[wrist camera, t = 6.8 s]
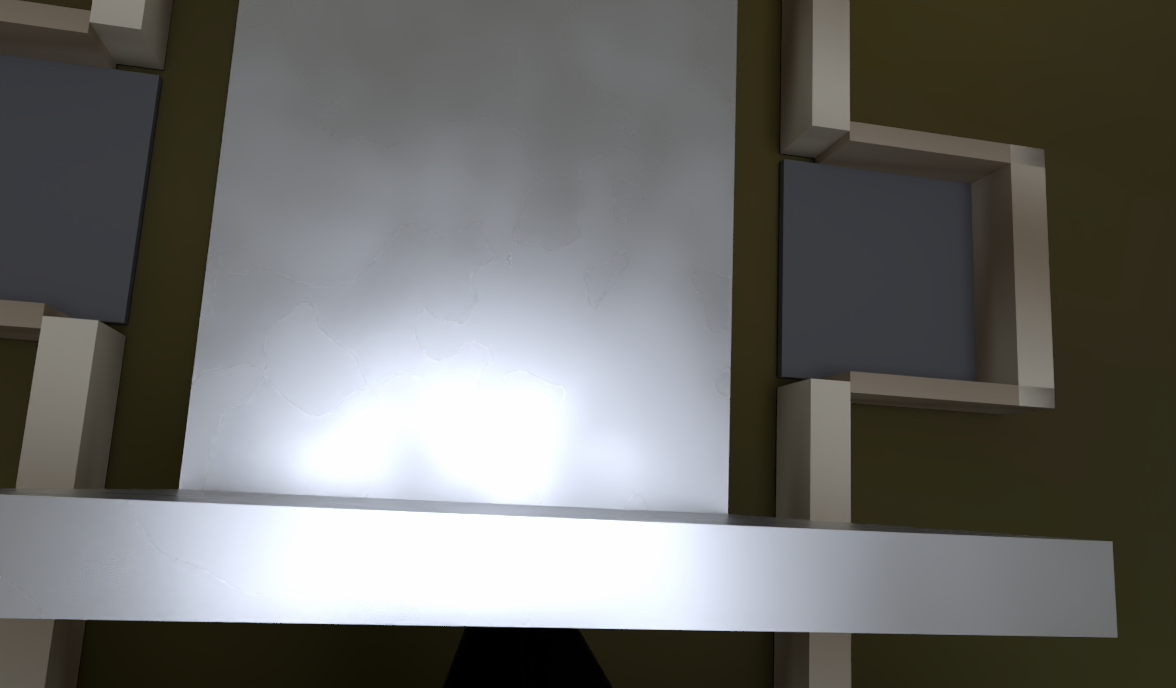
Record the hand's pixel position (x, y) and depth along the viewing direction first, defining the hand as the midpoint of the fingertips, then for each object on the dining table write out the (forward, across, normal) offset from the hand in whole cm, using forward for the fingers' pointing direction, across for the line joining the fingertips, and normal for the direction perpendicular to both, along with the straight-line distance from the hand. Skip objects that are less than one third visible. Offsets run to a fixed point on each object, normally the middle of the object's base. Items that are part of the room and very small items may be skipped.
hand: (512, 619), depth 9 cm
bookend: (+10, 0, +1) cm, 10 cm away
